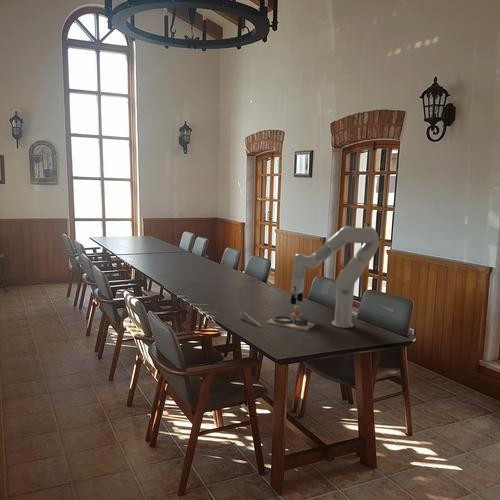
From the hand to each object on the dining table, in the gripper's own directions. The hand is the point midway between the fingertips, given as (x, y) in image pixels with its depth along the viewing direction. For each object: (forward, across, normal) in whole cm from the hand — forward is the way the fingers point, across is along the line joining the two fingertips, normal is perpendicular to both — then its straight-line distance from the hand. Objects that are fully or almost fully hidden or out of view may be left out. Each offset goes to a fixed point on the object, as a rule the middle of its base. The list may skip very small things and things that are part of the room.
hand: (296, 302), depth 294 cm
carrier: (+10, +13, +3) cm, 16 cm away
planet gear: (+10, 0, +1) cm, 10 cm away
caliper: (+11, +25, -17) cm, 32 cm away
